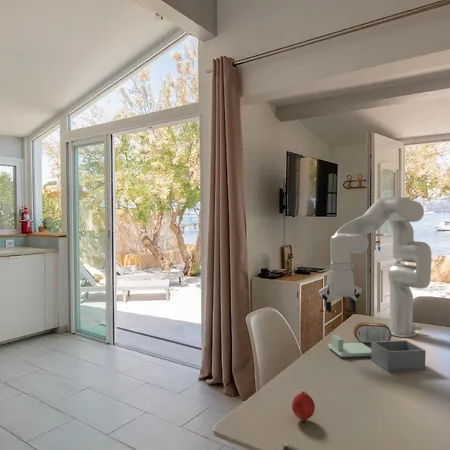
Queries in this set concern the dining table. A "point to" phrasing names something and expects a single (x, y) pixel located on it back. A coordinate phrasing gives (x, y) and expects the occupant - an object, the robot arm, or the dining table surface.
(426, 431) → the dining table surface
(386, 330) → the tin
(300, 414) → the onion
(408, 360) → the tub
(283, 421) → the dining table surface
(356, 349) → the lid
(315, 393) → the dining table surface
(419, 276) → the robot arm
